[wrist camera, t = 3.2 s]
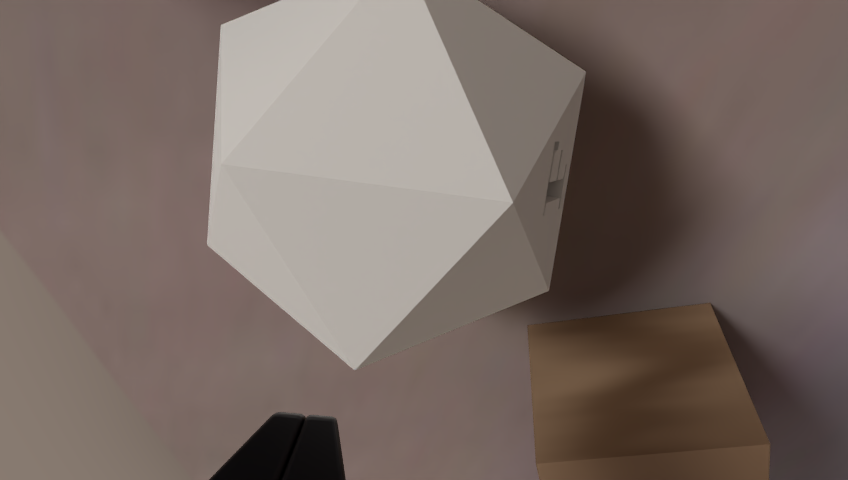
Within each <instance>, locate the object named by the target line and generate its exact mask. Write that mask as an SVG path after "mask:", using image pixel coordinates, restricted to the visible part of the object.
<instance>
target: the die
mask: <svg viewBox="0 0 848 480" xmlns="http://www.w3.org/2000/svg"><path fill="white" fill-rule="evenodd" d="M585 76H586V71H584V70H583V69H581V68H580V67H578V66H577V65H575V64H574V63H572V62H571V61H569V60H568V59H566V58H565V57H563V56H562V55H560V54H559V53H557V52H556V51H554V50H553V49H551V48H549V47H548V46H546V45H545V44H543V43H542V42H540V41H539V40H537V39H536V38H534V37H533V36H531V35H530V34H528V33H527V32H525V31H524V30H522V29H521V28H519V27H518V26H516V25H515V24H513V23H512V22H510V21H509V20H507V19H506V18H504V17H503V16H501V15H500V14H498V13H496V12H495V11H493V10H492V9H490V8H489V7H487V6H486V5H484V4H483V3H481V2H480V1H478V0H280V1H278V2H276V3H273V4H271V5H268V6H266V7H263V8H261V9H259V10H256V11H254V12H251V13H249V14H247V15H244V16H242V17H239V18H237V19H234V20H232V21H230V22H227V23H225V24H222V25H221V31H220V47H219V63H218V79H217V95H216V111H215V127H214V143H213V159H212V175H211V191H210V207H209V223H208V239H207V245H208V246H209V247H210V248H211V249H213V250H214V251H215V252H216V253H217V254H219V255H220V256H221V257H222V258H223V259H224V260H226V261H227V262H228V263H229V264H230V265H231V266H233V267H234V268H235V269H236V270H237V271H239V272H240V273H241V274H242V275H243V276H244V277H246V278H247V279H248V280H249V281H250V282H251V283H253V284H254V285H255V286H256V287H257V288H259V289H260V290H261V291H262V292H263V293H264V294H266V295H267V296H268V297H269V298H270V299H271V300H273V301H274V302H275V303H276V304H277V305H279V306H280V307H281V308H282V309H283V310H284V311H286V312H287V313H288V314H289V315H290V316H291V317H293V318H294V319H295V320H296V321H297V322H299V323H300V324H301V325H302V326H303V327H304V328H306V329H307V330H308V331H309V332H310V333H311V334H313V335H314V336H315V337H316V338H317V339H319V340H320V341H321V342H322V343H323V344H324V345H326V346H327V347H328V348H329V349H330V350H331V351H333V352H334V353H335V354H336V355H337V356H339V357H340V358H341V359H342V360H343V361H344V362H346V363H347V364H348V365H349V366H350V367H351V368H353V369H354V370H357V369H359V368H362V367H364V366H367V365H369V364H372V363H374V362H377V361H379V360H381V359H384V358H386V357H389V356H391V355H394V354H396V353H399V352H401V351H403V350H406V349H408V348H411V347H413V346H416V345H418V344H420V343H423V342H425V341H428V340H430V339H433V338H435V337H438V336H440V335H442V334H445V333H447V332H450V331H452V330H455V329H457V328H460V327H462V326H464V325H467V324H469V323H472V322H474V321H477V320H479V319H481V318H484V317H486V316H489V315H491V314H494V313H496V312H499V311H501V310H503V309H506V308H508V307H511V306H513V305H516V304H518V303H520V302H523V301H525V300H528V299H530V298H533V297H535V296H538V295H540V294H542V293H545V292H547V291H549V288H550V282H551V276H552V270H553V265H554V259H555V253H556V247H557V241H558V235H559V229H560V223H561V218H562V212H563V206H564V200H565V194H566V188H567V182H568V176H569V170H570V165H571V159H572V153H573V147H574V141H575V135H576V129H577V123H578V118H579V112H580V106H581V100H582V94H583V88H584V82H585Z"/></svg>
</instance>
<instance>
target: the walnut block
mask: <svg viewBox="0 0 848 480" xmlns="http://www.w3.org/2000/svg"><path fill="white" fill-rule="evenodd" d="M528 341H529V357H530V373H531V389H532V406H533V422H534V438H535V454H536V466H537V470H538V475H539V480H769V464H770V442H769V440H768V438H767V435H766V433H765V431H764V428H763V426H762V424H761V421H760V419H759V417H758V414H757V412H756V409H755V407H754V405H753V402H752V400H751V398H750V395H749V393H748V391H747V388H746V386H745V384H744V381H743V379H742V377H741V374H740V372H739V370H738V367H737V365H736V363H735V360H734V358H733V356H732V353H731V351H730V348H729V346H728V344H727V341H726V339H725V337H724V334H723V332H722V330H721V327H720V325H719V323H718V320H717V318H716V316H715V313H714V311H713V309H712V306H711V304H710V303H705V304H697V305H688V306H680V307H672V308H664V309H656V310H648V311H640V312H632V313H623V314H615V315H607V316H599V317H591V318H583V319H575V320H567V321H558V322H550V323H542V324H534V325H528Z"/></svg>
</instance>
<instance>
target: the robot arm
mask: <svg viewBox="0 0 848 480" xmlns="http://www.w3.org/2000/svg"><path fill="white" fill-rule="evenodd" d="M209 480H346V479H345V472H344V465H343V458H342V451H341V444H340V437H339V430H338V424H337V420H336V418H334V417H330V416H319V415H309V416H307V418H306V417H305V416H304V415H302V414H297V413H286V412H278V413H275V414H273V415H272V416H271V417H270V418H269V419H268V420H267V421H266V422H265V423H264V424H263V425H262V426H261V427H260V428H259V429H258V430H257V431H256V432H255V433H254V434H253V435H252V436H251V437H250V438H249V439H248V440H247V442H246V443H245V444H244V445H243V446H242V447H241V448H240V449H239V450H238V451H237V452H236V453H235V454H234V455H233V456H232V457H231V458H230V459H229V460H228V461H227V462H226V463H225V464H224V465H223V466H222V467H221V468H220V469H219V470H218V471H217V472H216V473H215V474H214V475H213V476H212V477H211V478H210V479H209Z"/></svg>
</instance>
